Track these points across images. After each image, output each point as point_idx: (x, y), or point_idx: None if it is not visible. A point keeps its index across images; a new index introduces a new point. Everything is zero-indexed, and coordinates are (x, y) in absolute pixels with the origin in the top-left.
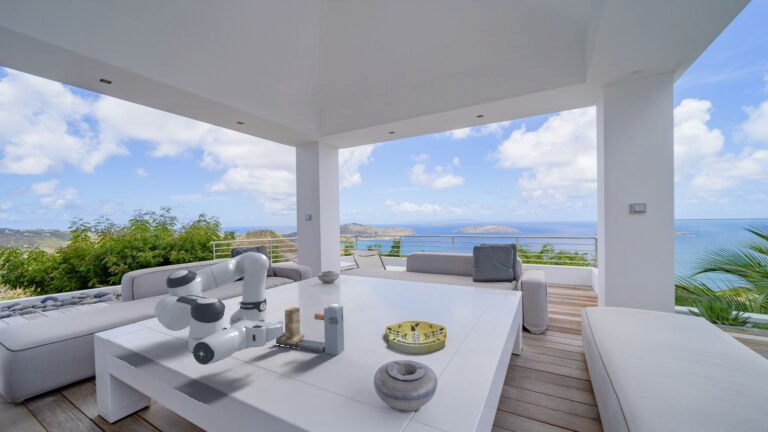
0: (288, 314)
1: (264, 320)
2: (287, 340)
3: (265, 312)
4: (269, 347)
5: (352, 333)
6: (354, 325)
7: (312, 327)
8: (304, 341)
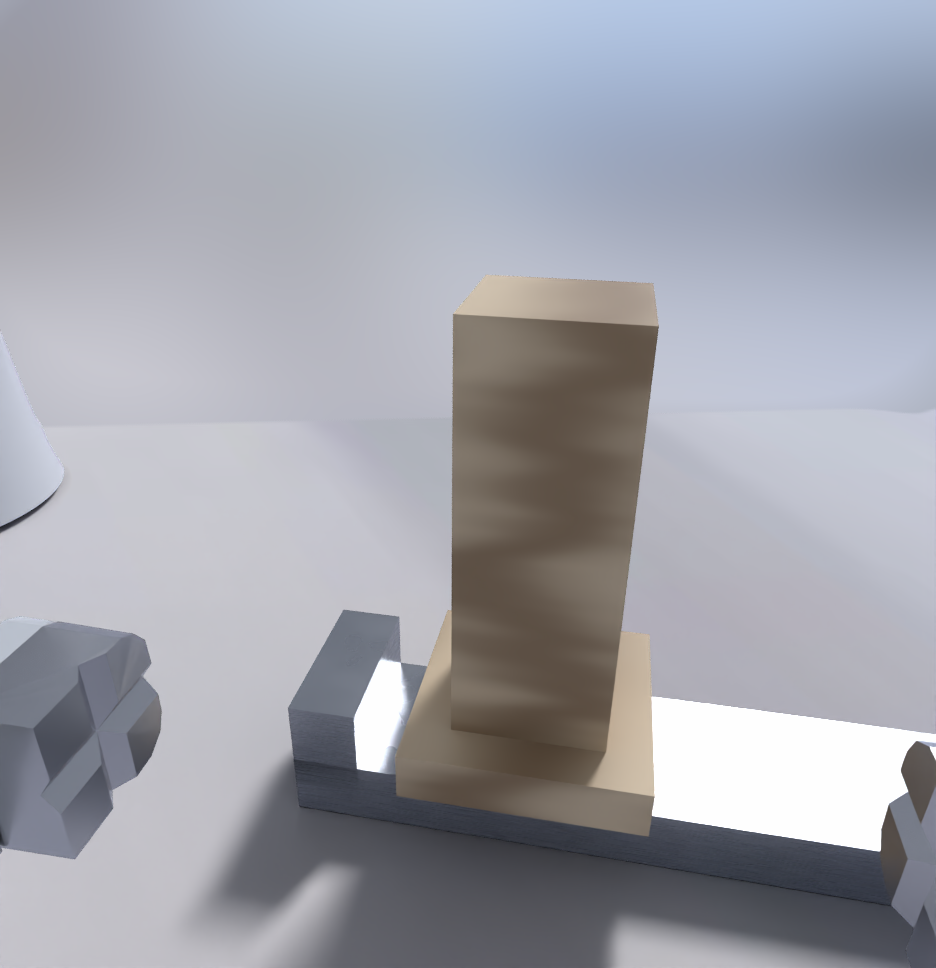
0: (537, 400)
1: (146, 657)
2: (523, 788)
3: (2, 362)
4: (220, 865)
5: (930, 537)
6: (805, 452)
7: None
8: (712, 742)
